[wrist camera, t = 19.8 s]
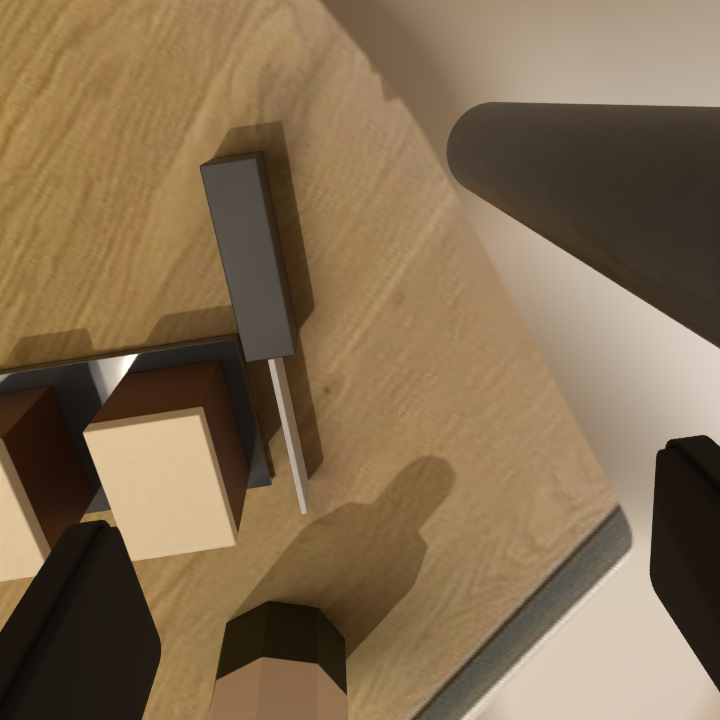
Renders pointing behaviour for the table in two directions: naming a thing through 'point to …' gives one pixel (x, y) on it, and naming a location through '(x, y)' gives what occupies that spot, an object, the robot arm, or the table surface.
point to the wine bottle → (281, 667)
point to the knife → (257, 279)
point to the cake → (171, 460)
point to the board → (103, 372)
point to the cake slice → (36, 481)
